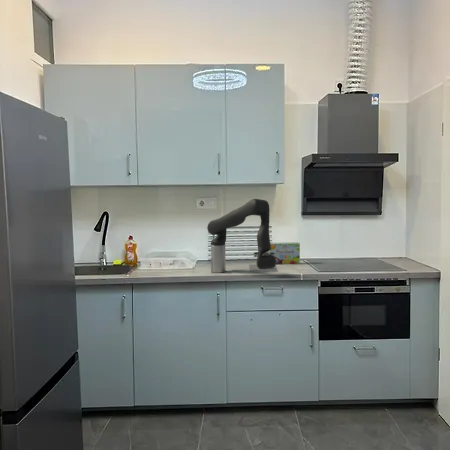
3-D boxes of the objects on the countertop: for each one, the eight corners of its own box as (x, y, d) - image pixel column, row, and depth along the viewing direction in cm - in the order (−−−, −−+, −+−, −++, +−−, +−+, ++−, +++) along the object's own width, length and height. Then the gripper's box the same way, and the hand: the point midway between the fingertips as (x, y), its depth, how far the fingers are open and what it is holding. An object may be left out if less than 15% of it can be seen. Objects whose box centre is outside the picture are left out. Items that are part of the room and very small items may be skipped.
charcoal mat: (249, 272, 270) (249, 271, 270) (249, 265, 298) (249, 264, 298) (278, 272, 269) (278, 271, 269) (275, 265, 297) (275, 264, 297)
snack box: (270, 264, 300) (270, 243, 299) (268, 263, 305) (268, 242, 304) (299, 263, 301) (299, 242, 300) (298, 262, 307) (297, 241, 306)
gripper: (276, 250, 248) (274, 246, 265) (253, 250, 248) (252, 246, 266) (276, 263, 248) (274, 258, 266) (253, 263, 249) (252, 258, 266)
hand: (263, 252), depth 266 cm, fingers closed
